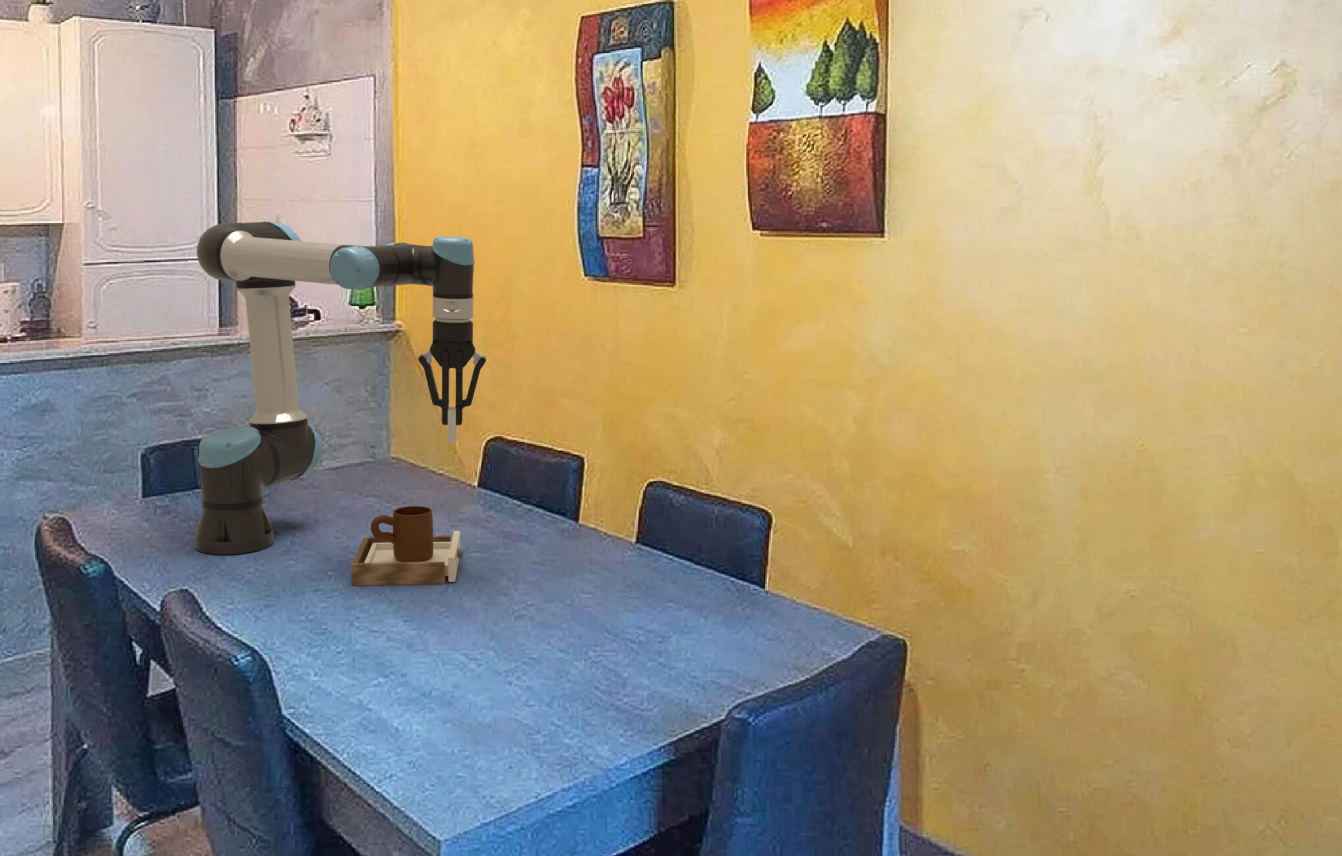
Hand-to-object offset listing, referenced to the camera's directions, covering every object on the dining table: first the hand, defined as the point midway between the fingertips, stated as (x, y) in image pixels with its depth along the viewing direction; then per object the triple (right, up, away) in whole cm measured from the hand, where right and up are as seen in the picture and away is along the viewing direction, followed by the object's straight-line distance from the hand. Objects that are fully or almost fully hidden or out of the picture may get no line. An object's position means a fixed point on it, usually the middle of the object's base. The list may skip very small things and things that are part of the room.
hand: (452, 441), depth 231 cm
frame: (-9, -25, 0) cm, 26 cm away
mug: (-10, -23, 0) cm, 25 cm away
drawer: (-7, -24, 0) cm, 25 cm away
